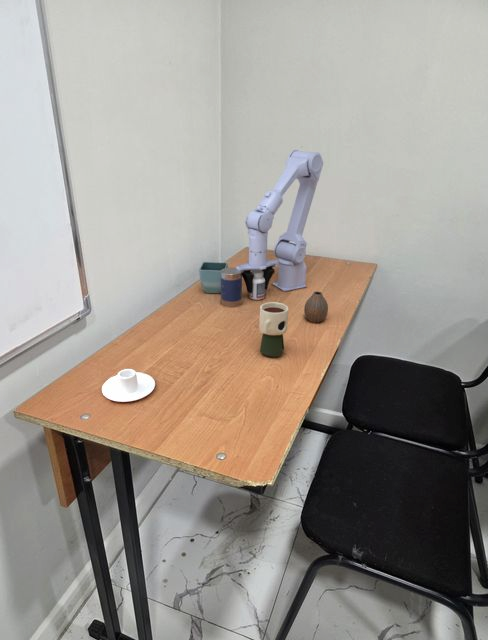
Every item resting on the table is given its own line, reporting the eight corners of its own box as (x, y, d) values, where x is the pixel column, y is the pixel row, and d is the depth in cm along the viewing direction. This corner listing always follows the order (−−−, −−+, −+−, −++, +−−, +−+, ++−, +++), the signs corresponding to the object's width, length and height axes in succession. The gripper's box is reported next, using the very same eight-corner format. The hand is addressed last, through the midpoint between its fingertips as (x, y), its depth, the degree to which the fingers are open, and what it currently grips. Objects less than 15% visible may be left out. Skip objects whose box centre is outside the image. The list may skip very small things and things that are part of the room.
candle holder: (107, 375, 107) (104, 360, 105) (157, 373, 108) (155, 358, 106) (97, 405, 97) (94, 389, 95) (153, 403, 98) (151, 386, 96)
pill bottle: (266, 295, 150) (267, 270, 146) (262, 301, 146) (263, 275, 142) (251, 293, 152) (252, 268, 148) (246, 299, 148) (247, 273, 143)
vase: (329, 317, 136) (332, 290, 131) (323, 326, 130) (326, 299, 126) (307, 313, 138) (309, 287, 134) (300, 322, 133) (302, 295, 128)
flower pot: (228, 286, 158) (228, 262, 154) (225, 296, 150) (225, 270, 146) (203, 285, 159) (202, 261, 154) (199, 295, 151) (198, 270, 147)
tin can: (235, 297, 149) (235, 266, 144) (245, 304, 144) (245, 272, 139) (217, 301, 147) (217, 269, 141) (226, 308, 141) (226, 275, 136)
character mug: (277, 365, 111) (279, 318, 105) (251, 359, 114) (252, 313, 108) (291, 346, 120) (295, 302, 113) (267, 341, 122) (269, 297, 116)
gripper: (243, 257, 135) (243, 298, 142) (284, 250, 141) (281, 290, 148) (233, 250, 141) (233, 291, 147) (272, 244, 146) (270, 283, 153)
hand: (256, 290), depth 148 cm, fingers closed on pill bottle, 5 cm apart
